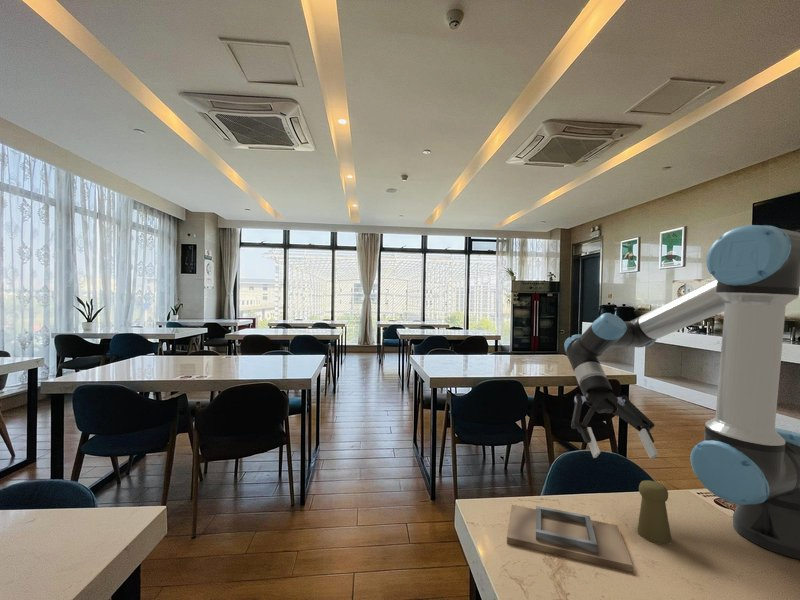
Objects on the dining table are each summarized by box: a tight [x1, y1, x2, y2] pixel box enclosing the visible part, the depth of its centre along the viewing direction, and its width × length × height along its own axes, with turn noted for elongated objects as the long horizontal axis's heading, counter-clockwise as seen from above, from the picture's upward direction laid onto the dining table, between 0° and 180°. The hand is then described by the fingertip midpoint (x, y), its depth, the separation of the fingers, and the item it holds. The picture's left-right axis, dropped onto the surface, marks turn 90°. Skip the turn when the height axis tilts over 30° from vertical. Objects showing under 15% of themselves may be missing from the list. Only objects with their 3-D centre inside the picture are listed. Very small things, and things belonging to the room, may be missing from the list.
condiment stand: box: [506, 504, 634, 573], centre depth 76 cm, size 22×14×3 cm, turn 69°
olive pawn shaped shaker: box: [636, 479, 673, 546], centre depth 77 cm, size 6×6×11 cm
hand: (625, 456), depth 87 cm, fingers open, 13 cm apart
